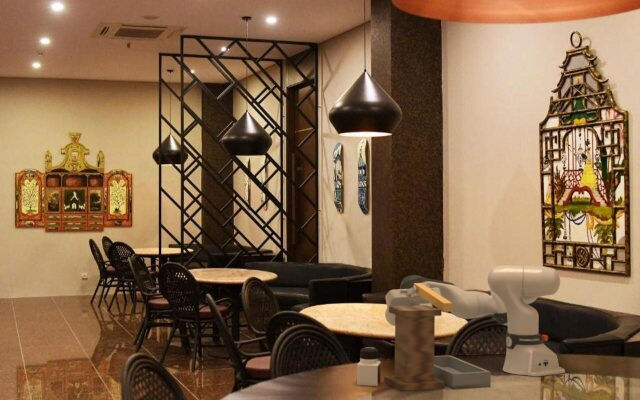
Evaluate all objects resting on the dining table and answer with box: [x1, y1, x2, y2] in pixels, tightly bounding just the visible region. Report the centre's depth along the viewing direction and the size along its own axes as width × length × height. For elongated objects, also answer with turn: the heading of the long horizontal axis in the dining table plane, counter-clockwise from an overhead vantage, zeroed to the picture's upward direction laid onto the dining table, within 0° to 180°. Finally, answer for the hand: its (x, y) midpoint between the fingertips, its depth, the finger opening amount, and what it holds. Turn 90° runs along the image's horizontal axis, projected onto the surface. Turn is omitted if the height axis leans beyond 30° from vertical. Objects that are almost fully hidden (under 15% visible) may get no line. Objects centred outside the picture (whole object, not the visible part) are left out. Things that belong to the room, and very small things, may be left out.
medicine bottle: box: [356, 347, 382, 387], centre depth 275 cm, size 7×7×12 cm
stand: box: [383, 305, 446, 392], centre depth 273 cm, size 16×14×26 cm
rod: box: [414, 283, 452, 313], centre depth 285 cm, size 3×24×3 cm, turn 19°
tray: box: [434, 355, 492, 390], centre depth 284 cm, size 14×30×5 cm, turn 18°
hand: (421, 287), depth 293 cm, fingers closed on rod, 3 cm apart
